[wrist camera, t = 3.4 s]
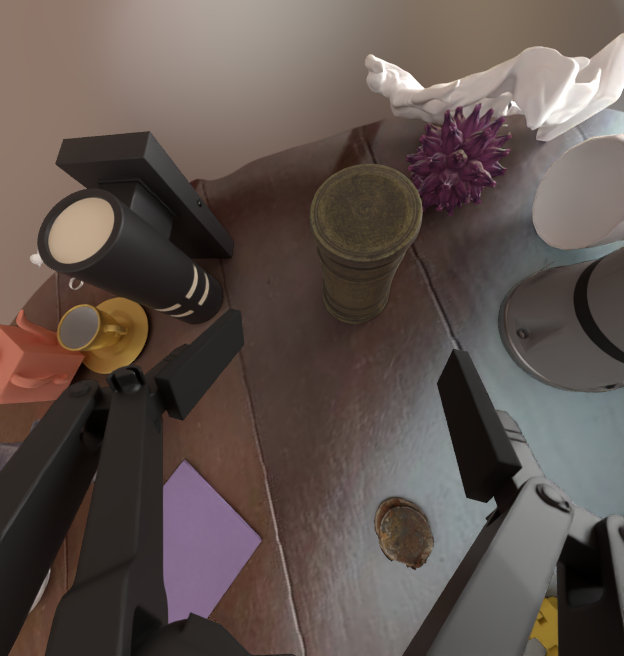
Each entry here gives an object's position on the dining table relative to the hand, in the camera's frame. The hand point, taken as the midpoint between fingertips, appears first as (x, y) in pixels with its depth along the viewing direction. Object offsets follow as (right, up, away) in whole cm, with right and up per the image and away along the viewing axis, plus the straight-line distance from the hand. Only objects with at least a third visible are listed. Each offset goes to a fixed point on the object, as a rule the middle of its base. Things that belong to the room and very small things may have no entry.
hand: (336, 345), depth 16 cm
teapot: (-40, -5, +23) cm, 46 cm away
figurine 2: (+35, +29, +14) cm, 48 cm away
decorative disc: (+9, -22, +14) cm, 27 cm away
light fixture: (-19, +8, +23) cm, 31 cm away
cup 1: (-32, 0, +23) cm, 40 cm away
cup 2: (+46, +19, +13) cm, 51 cm away
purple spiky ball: (+17, +21, +22) cm, 34 cm away
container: (+5, +6, +20) cm, 21 cm away
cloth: (-17, -26, +15) cm, 35 cm away
